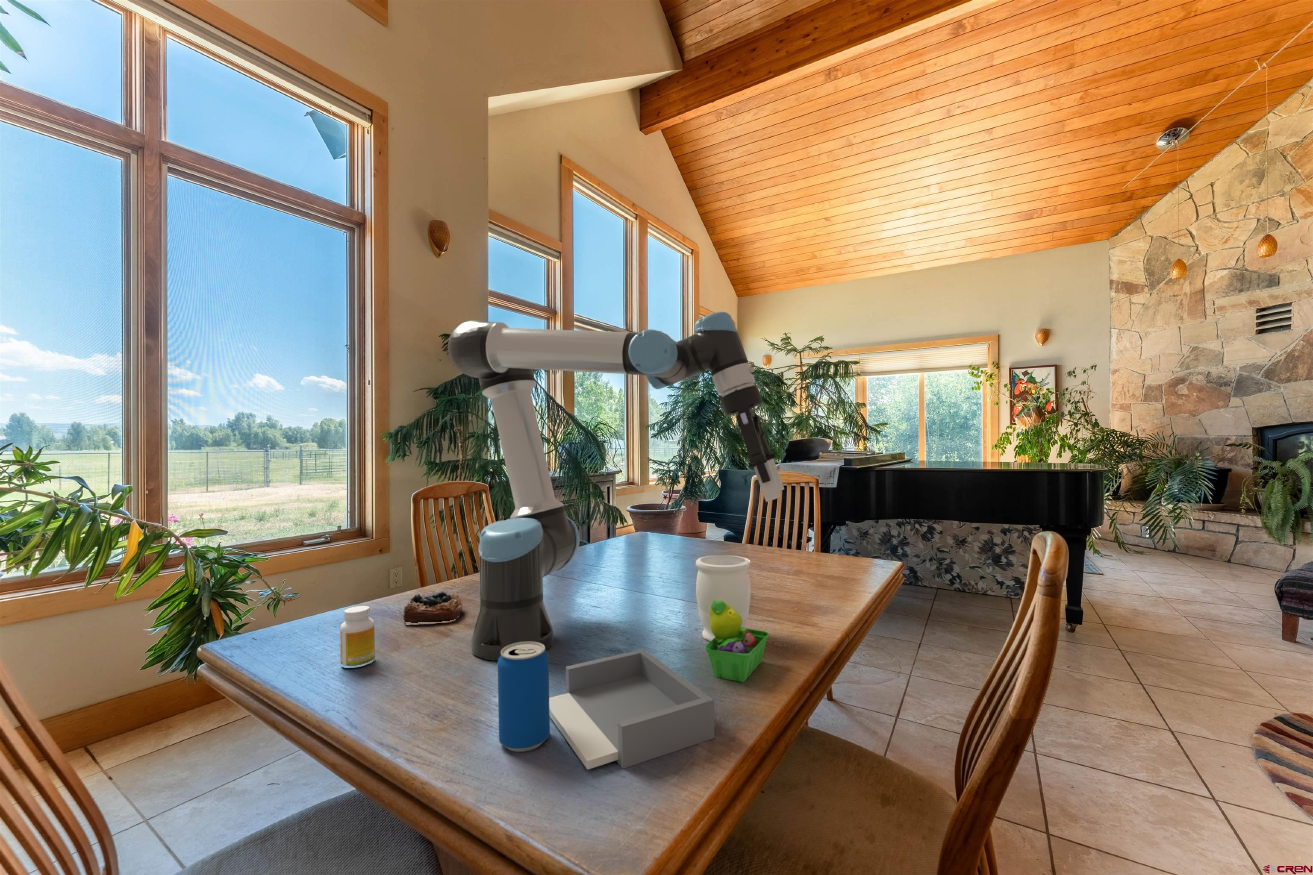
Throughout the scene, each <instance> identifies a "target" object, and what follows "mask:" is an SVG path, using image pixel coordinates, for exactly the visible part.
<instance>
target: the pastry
mask: <svg viewBox="0 0 1313 875" xmlns="http://www.w3.org/2000/svg"><path fill="white" fill-rule="evenodd" d="M459 597H460V596H459V595H458V594H455V593H451V594H447V592H445V591H440V592H438V593H434V594H432V595H427V594H422V595H421V594H420V593H417V594H414V596H413V597H412V598H410V600H409V602H408V603H407V604H406V605H405V606H404V609H403V617H402V618H403V620H404V623H405V622H411V623H418V622H442V621H450V620H454V619H456V618H457V617H458V616H460V617H461V615H460V613H461V614H462V612H463V603H462V600H461V598H459Z"/></svg>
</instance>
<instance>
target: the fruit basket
mask: <svg viewBox="0 0 1313 875" xmlns="http://www.w3.org/2000/svg"><path fill="white" fill-rule="evenodd" d="M709 613H710V628H711V631H712V633H713V635H714V636H715V638H714V639H713V640H712V641H709V642H708V643H707V644H706V645H705V650H706V653H707V655H708V658H709V661H710V664H711V668H712V669H711V670H712V672H713V675H714V677H716V678H722V679H727V680H729V681H730V680H731V681H738V682H740V683H745V682H746V680H747V679H748V677H750V676H751V675H752V673H753V672H754V671H755V670H756V669H757V668H758V666H759V665H760V664H761V663H762V660H763V656H764V653H765V649H766V648H765V647H766V644H767V641H768V639H769V636H770V633H769V632H768V631H764V630H759V629H753V628H746V627H744V628H742V627H741V624H742V618H741V616H740V615H739V614H738V613H737V612H736V611H735V610H733V609H732V608H731V607H730V606H729V605H727V604H726V603H725V602H724V601H721V600H718V601H713V603H712V605H711V608H710V611H709Z"/></svg>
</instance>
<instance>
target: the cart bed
mask: <svg viewBox="0 0 1313 875" xmlns="http://www.w3.org/2000/svg"><path fill="white" fill-rule="evenodd" d="M549 714H550V719H551V720H552V722H553V724H555V726H556V727H557V729H558V730H559V731H560V733H561V735H563V737H564V739H565V740H566V741H567V743H568V744H569V746H570V747H571V749H572V750H573V752H575V754H576V755H577V757H578V759H579V760H580V761H581V763H582V764H583V765H584V767H585V769H586V770H591V769H594V768H597V767H600V766H603V765H605V764H609V763H611V762H612V763H613V762H615V761H616V762H617V763H618V766H620V768H622V770H624V769H626V768H630V767H632V766H636V765H639V764H641V763H644V762H648V761H650V760H653V759H656V758H659V757H663V756H666V755H669V754H672V753H675V752H677V751H681V750H683V749H686V748H689V747H693V746H695V745H698V744H701V743H703V742H707V741H710V740H712V739H715V700H714V698H712V697H711V696H709V695H708V694H706V693H705V692H704V691H703V690H701V689H699V688H698V687H697V686H695V685H694V684H693V683H691V682H690V681H688V680H687V679H686V678H684V677H683V676H681V675H680V674H679V673H677V672H676V671H674V670H673V669H671V667H669V666H667V664H665V663H663V661H661V660H659V659H658V658H657V657H655V656H654V655H652V654H651V653H650V652H648V651H647V650H646V649H645V648H642V649H638V650H633V651H629V652H624V653H619V654H616V655H612V656H607V657H601V658H598V659H594V660H590V661H589V660H588V661H586V662H585V661H583V662H580V663H575V664H572V665H567V666H565V693H563V694H560V695H555V696H550V697H549Z"/></svg>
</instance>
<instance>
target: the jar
mask: <svg viewBox="0 0 1313 875" xmlns="http://www.w3.org/2000/svg"><path fill="white" fill-rule="evenodd" d="M695 566H696V567H697V568H698V572H697V574H696V581H695V582H696V584H695V595H696V596H695V597H696V602H697V607H698V614H699V618H700V620H701V623H702V625H703V627H704V629H703V630H702V632H701V635H702V638H704V639H705V640H707V641H709V642H710V641H712V640H713V639H714V638H715V636H714V635H713V633H712V631H711V628H710V613H709V611H710V608H711V605H712V603H713V601H718V600H721V601H724V602H725V603H726V604H727V605H729V606H730V607H731V608H732V609H733V610H735V611H736V612H737V613H738V614H739V615H740V616H741V618H742V624H741V627H742V628H745V626H746V624H747V622H748V617H749V612H750V603H751V595H752V594H751V593H752V592H751V590H752V589H751V580H750V576H749V570H748V569H749V568H750V566H751V560H750V559H748V558H746V557H744V556H738V555H726V554H725V555H724V554H722V555H721V554H719V555H715V554H714V555H707V556H700V557H699V558H697V559H696V560H695Z"/></svg>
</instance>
